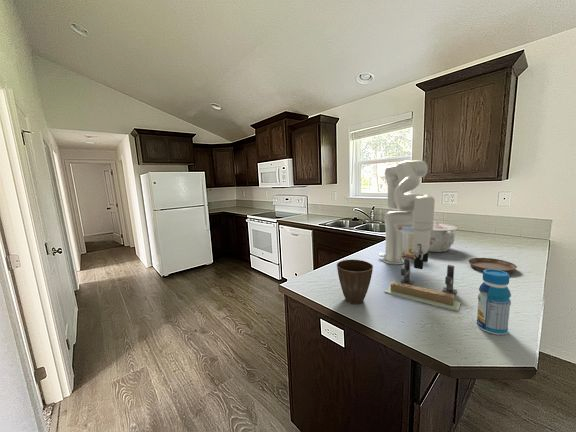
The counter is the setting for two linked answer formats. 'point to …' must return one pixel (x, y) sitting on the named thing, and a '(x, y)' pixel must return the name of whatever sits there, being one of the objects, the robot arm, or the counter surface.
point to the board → (454, 307)
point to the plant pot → (354, 279)
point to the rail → (423, 293)
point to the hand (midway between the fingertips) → (421, 264)
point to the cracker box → (407, 241)
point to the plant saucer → (492, 264)
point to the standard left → (406, 272)
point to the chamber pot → (441, 237)
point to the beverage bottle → (494, 302)
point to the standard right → (449, 280)
